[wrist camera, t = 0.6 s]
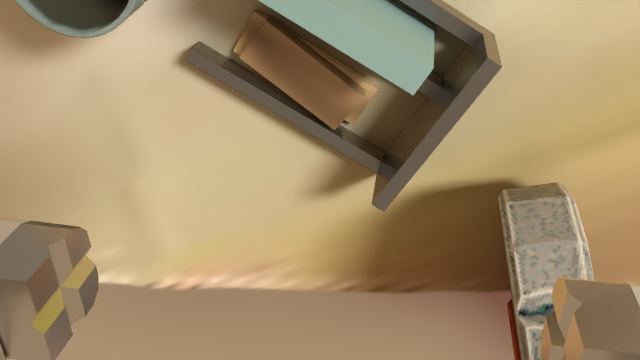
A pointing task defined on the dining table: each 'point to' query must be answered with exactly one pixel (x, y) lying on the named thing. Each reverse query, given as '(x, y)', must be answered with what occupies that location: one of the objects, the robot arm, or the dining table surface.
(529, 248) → the decorative stone tablet
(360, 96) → the offcut walnut
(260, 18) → the offcut oak
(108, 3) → the grey-green bin
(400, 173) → the offcut rack
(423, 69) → the teal sheet
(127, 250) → the dining table surface
